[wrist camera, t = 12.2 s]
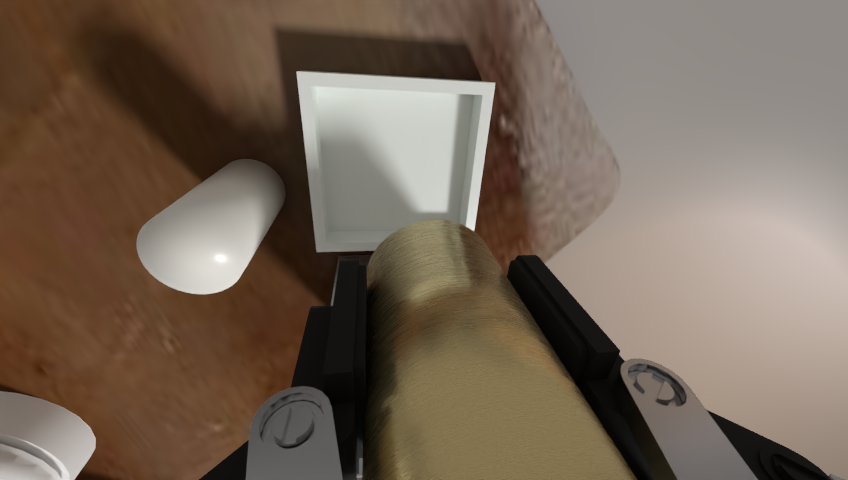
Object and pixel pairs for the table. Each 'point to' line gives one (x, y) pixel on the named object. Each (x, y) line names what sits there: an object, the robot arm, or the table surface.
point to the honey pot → (41, 440)
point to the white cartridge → (213, 228)
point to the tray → (390, 153)
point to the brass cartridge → (467, 372)
